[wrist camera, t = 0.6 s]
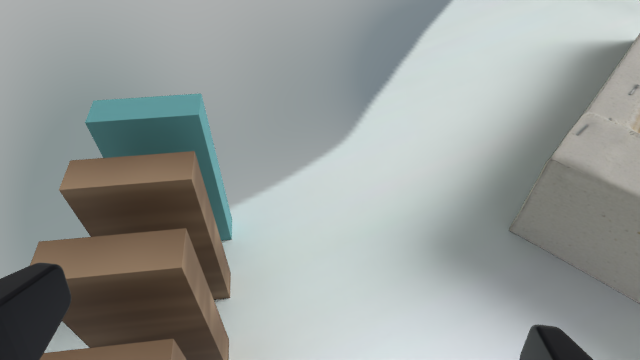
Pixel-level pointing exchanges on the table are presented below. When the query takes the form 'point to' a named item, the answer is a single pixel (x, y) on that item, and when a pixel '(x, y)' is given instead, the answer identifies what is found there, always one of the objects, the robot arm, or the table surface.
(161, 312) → the domino
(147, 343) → the domino
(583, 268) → the box
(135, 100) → the domino
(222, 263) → the domino
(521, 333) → the table surface
